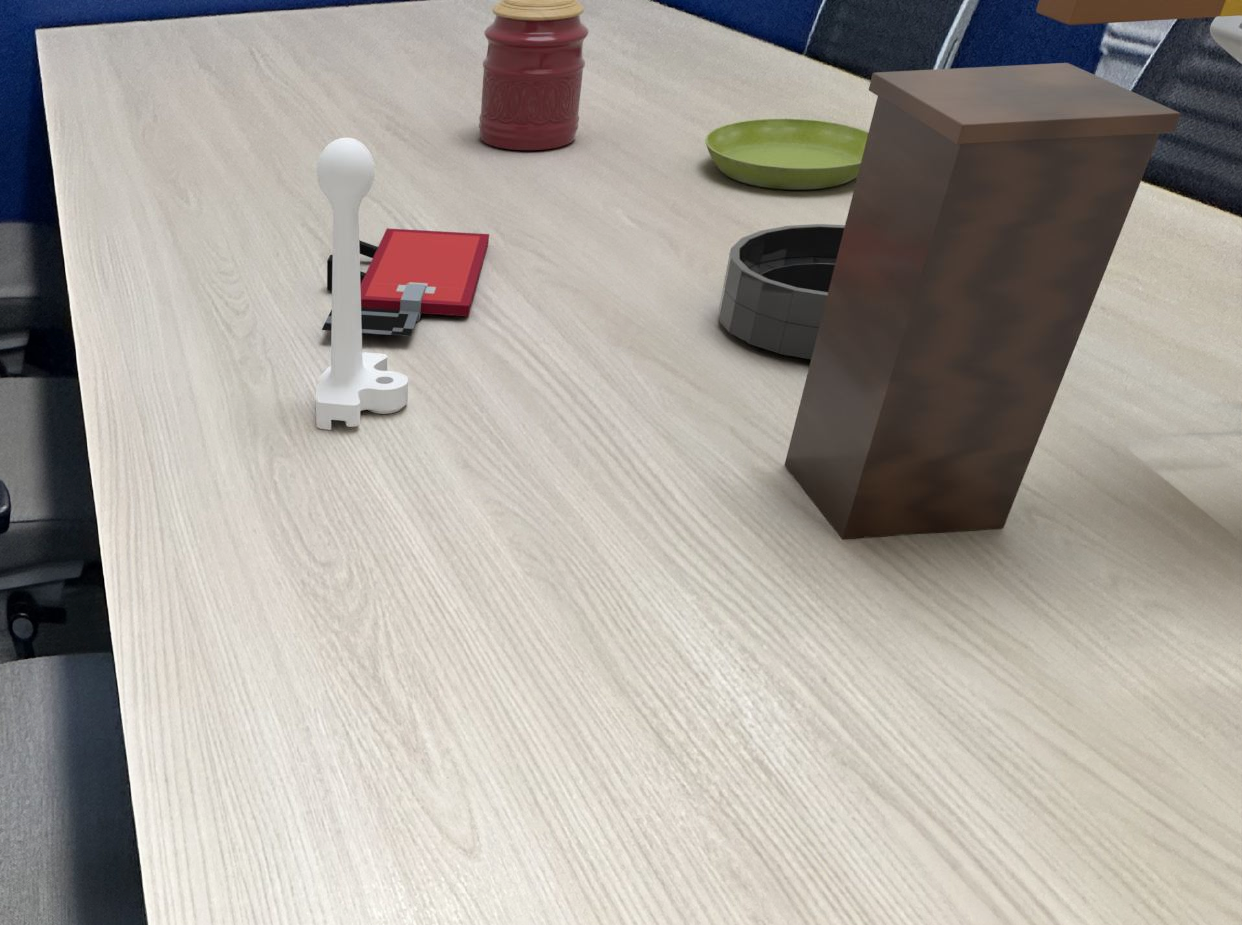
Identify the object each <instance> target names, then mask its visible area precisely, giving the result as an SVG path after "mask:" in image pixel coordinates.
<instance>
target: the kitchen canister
mask: <svg viewBox="0 0 1242 925" xmlns="http://www.w3.org/2000/svg"><path fill="white" fill-rule="evenodd" d="M584 11H585V6H584V5H583V4H582V3H581V2H579V1H578V0H501V1H499V2H498V3H495V5H493V7H492V14H494V15H495V17H494V20H493V22H492V23H490V24H489V25H488V26H486V28H485V29H484V31H483V32H484V33H483V34H484V37H485V38H486V40H487V50H486V57H485V58H484V60H483V61H482V68H483V72H482V91H481V107H480V108H481V109H480V114H479V117H478V120H479V122H478V129H479V139H480V140H481V141H482V142H483V143H485V144H486V145H489V146H491V147H495V148H499V149H503V150H504V149H506V150H510V151H511V150H513V151H543V150H551V149H557V148H561V147H565V146H567V145H570V144H571V143H573V141H575V139H576V135H577V131H578V129H579V121H580V115H579V110H580V100H581V93H582V83H583V73H584V68H585V65H586V61H585V59H584V58H583V50H584V49H583V48H584V47H583V46H584V41H585V40H586V38H587V37H588V35H589V32H590V31H589V28H588V27H587V26H586V25H585V24H584V23H583V22H582V20H581V15H582V14H583V13H584Z"/></svg>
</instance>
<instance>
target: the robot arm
mask: <svg viewBox="0 0 1242 925" xmlns="http://www.w3.org/2000/svg"><path fill="white" fill-rule="evenodd" d="M1209 33H1210V36H1211V38H1212V39H1213V41H1214V42H1215V43H1216V44H1217V45H1219V46H1220V47H1221V48H1222V49H1223V50H1224V51H1225V52H1227V53H1228V54H1229V55H1230V56H1231V57H1233V59H1234V60H1236V61H1237V62H1238V63H1240V64H1241V65H1242V15H1241V16H1223V17H1219V16H1218V17H1214V19H1213V20H1212V22H1211V23H1210V25H1209Z"/></svg>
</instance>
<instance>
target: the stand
mask: <svg viewBox="0 0 1242 925" xmlns="http://www.w3.org/2000/svg"><path fill="white" fill-rule="evenodd" d="M868 91H869V92H870V93H872V94H874V95H876V96H877V98H876V102H875V106H874V109H873V114H872V118H871V121H870V124H869V129H868V132H869V133H868V137H867V141H866V145H865V149H864V153H863V157H862V160H861V164H860V168H859V172H858V176H857V177H856V180H855V184H854V188H853V193H852V196H851V201H850V204H849V208H848V212H847V216H846V220H845V223H844V225H845V228H844V232H843V236H842V240H841V243H840V247H839V251H838V255H837V259H836V263H835V267H834V271H833V275H832V279H831V283H830V287H829V291H828V295H827V299H826V303H825V307H824V311H823V315H822V319H821V322H820V326H819V330H818V334H817V338H816V342H815V346H814V350H813V354H812V358H811V359H810V362H809V366H808V371H807V375H806V378H805V382H804V385H803V389H802V393H801V399H800V402H799V406H798V410H797V414H796V417H795V421H794V424H793V429H792V433H791V437H790V442H789V445H788V449H787V452H786V453H787V454H786V457H785V461H784V467H785V468H787V470H788V471H789V473H791V475H792V476H793V477H794V479H795V480H796V482H797V483H798V484H799V485H800V486H801V488H802V489H803V491H804V492H805V493H806V494H807V495H808V497H809V498H810V500H811V501H812V502H813V503H814V505H815V506H816V507H817V508H818V510H819V511H820V512H821V514H822V515H823V516H824V518H825V519H826V520H827V521H828V522H829V524H830V525H831V526H832V528H833V529H834V530H835V532H836V533H837V534H838V535H839V537H840V538H841V539H842V540H845V539H847V540H848V539H860V538H875V537H876V538H877V537H889V536H890V537H891V536H904V535H905V536H906V535H920V534H921V535H922V534H936V533H951V532H967V531H980V530H981V531H982V530H995V529H996V530H997V529H998V530H999V529H1004V528H1005V526H1006V523H1007V520H1008V518H1009V515H1010V513H1011V511H1012V507H1013V505H1014V502H1015V500H1016V497H1017V495H1018V493H1019V490H1020V487H1021V485H1022V482H1023V480H1024V477H1025V475H1026V472H1027V469H1028V467H1029V464H1030V463H1031V460H1032V457H1033V455H1034V452H1035V450H1036V447H1037V444H1038V442H1039V439H1040V437H1041V434H1042V432H1043V430H1044V427H1045V424H1046V422H1047V419H1048V417H1049V414H1050V412H1051V409H1052V407H1053V404H1054V401H1055V399H1056V396H1057V394H1058V392H1059V389H1060V386H1061V384H1062V381H1063V379H1064V376H1065V374H1066V371H1067V369H1068V366H1069V364H1070V361H1071V358H1072V356H1073V353H1074V351H1075V348H1076V346H1077V344H1078V341H1079V338H1080V337H1081V334H1082V331H1083V329H1084V326H1085V323H1086V321H1087V318H1088V316H1089V313H1090V311H1091V308H1092V306H1093V304H1094V301H1095V299H1096V296H1097V294H1098V290H1099V288H1100V285H1101V283H1102V281H1103V278H1104V275H1105V273H1106V270H1107V268H1108V265H1109V263H1110V260H1111V258H1112V255H1113V253H1114V250H1115V248H1116V245H1117V244H1118V240H1119V238H1120V235H1121V232H1122V230H1123V227H1124V225H1125V223H1126V221H1127V218H1128V215H1129V212H1130V210H1131V207H1132V204H1133V202H1134V200H1135V197H1136V196H1137V192H1138V189H1139V188H1140V184H1141V183H1142V180H1143V177H1144V174H1145V172H1146V169H1147V167H1148V164H1149V162H1150V160H1151V157H1152V154H1153V151H1154V149H1155V147H1156V144H1157V142H1158V139H1159V136H1160V135H1161V134H1173V133H1175V131H1176V128H1177V126H1178V123H1179V121H1180V119H1181V116H1182V113H1181V112H1179V111H1177V110H1174V109H1172V108H1170V107H1168V106H1165V105H1163V104H1161V103H1159V102H1157V101H1154V100H1153V99H1150V98H1147V97H1145V96H1143V95H1141V94H1140V93H1139V94H1138V93H1136V92H1134V91H1132V90H1129V89H1128V88H1125V87H1123V86H1120V85H1118V84H1116V83H1114V82H1111V81H1109V80H1107V79H1105V78H1103V77H1100V76H1098V75H1096V74H1093V73H1091V72H1089V71H1086V70H1085V69H1082V68H1080V67H1078V66H1075V65H1073V64H1070V62H1055V63H1035V64H1018V65H1014V64H1013V65H997V66H995V65H994V66H979V67H976V66H975V67H958V68H957V67H956V68H939V69H938V68H936V69H918V70H917V69H916V70H899V71H897V70H896V71H879V72H872V74H871V79H870V82H869V87H868Z"/></svg>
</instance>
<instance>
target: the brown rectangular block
mask: <svg viewBox="0 0 1242 925" xmlns="http://www.w3.org/2000/svg"><path fill="white" fill-rule="evenodd" d="M1035 12H1036V13H1037V14H1039V15H1041V16H1044V17H1047V18H1049V19H1052V20H1054V21H1057V22H1059V23H1063V24H1065V25H1067V26H1082V25H1095V24H1096V25H1099V24H1100V25H1101V24H1114V23H1115V24H1117V23H1131V22H1132V23H1133V22H1134V23H1135V22H1149V21H1150V22H1152V21H1170V20H1184V19H1185V20H1186V19H1188V20H1189V19H1205V18H1216V17H1218V16H1219V17H1223V16H1241V15H1242V0H1038V3H1037V6H1036V10H1035Z"/></svg>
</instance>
